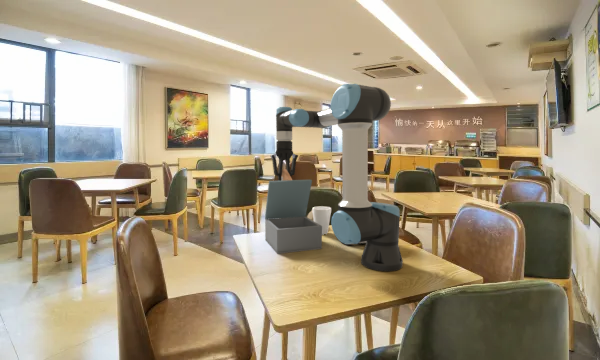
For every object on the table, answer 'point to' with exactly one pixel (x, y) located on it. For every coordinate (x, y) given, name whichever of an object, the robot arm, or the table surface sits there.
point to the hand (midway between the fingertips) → (284, 190)
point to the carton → (293, 234)
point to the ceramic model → (310, 216)
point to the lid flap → (287, 197)
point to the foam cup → (322, 217)
